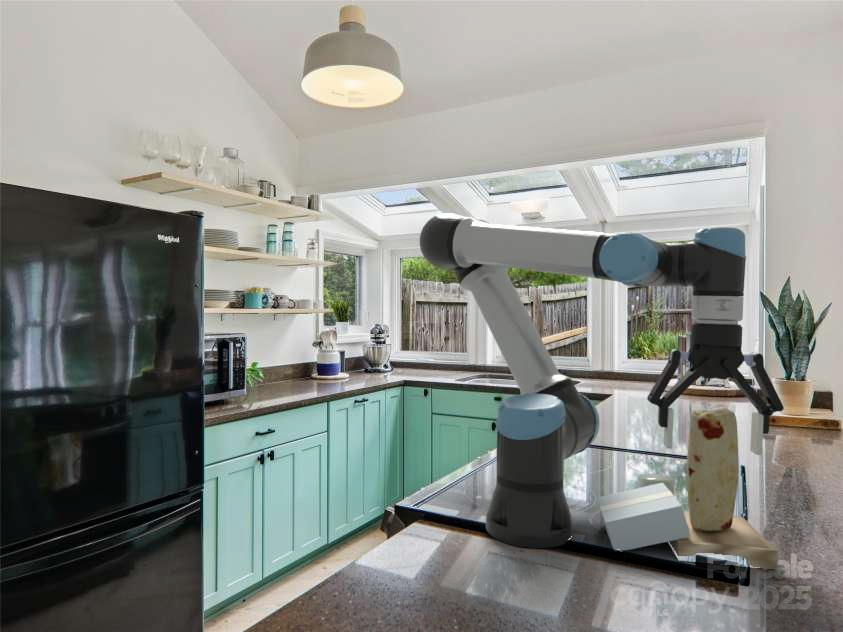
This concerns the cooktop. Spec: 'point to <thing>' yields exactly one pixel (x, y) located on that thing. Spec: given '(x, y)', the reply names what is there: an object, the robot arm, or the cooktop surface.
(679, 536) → the flat box
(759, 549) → the tan square plate
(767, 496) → the cooktop surface
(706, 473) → the food model
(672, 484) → the pale green rounded knob
